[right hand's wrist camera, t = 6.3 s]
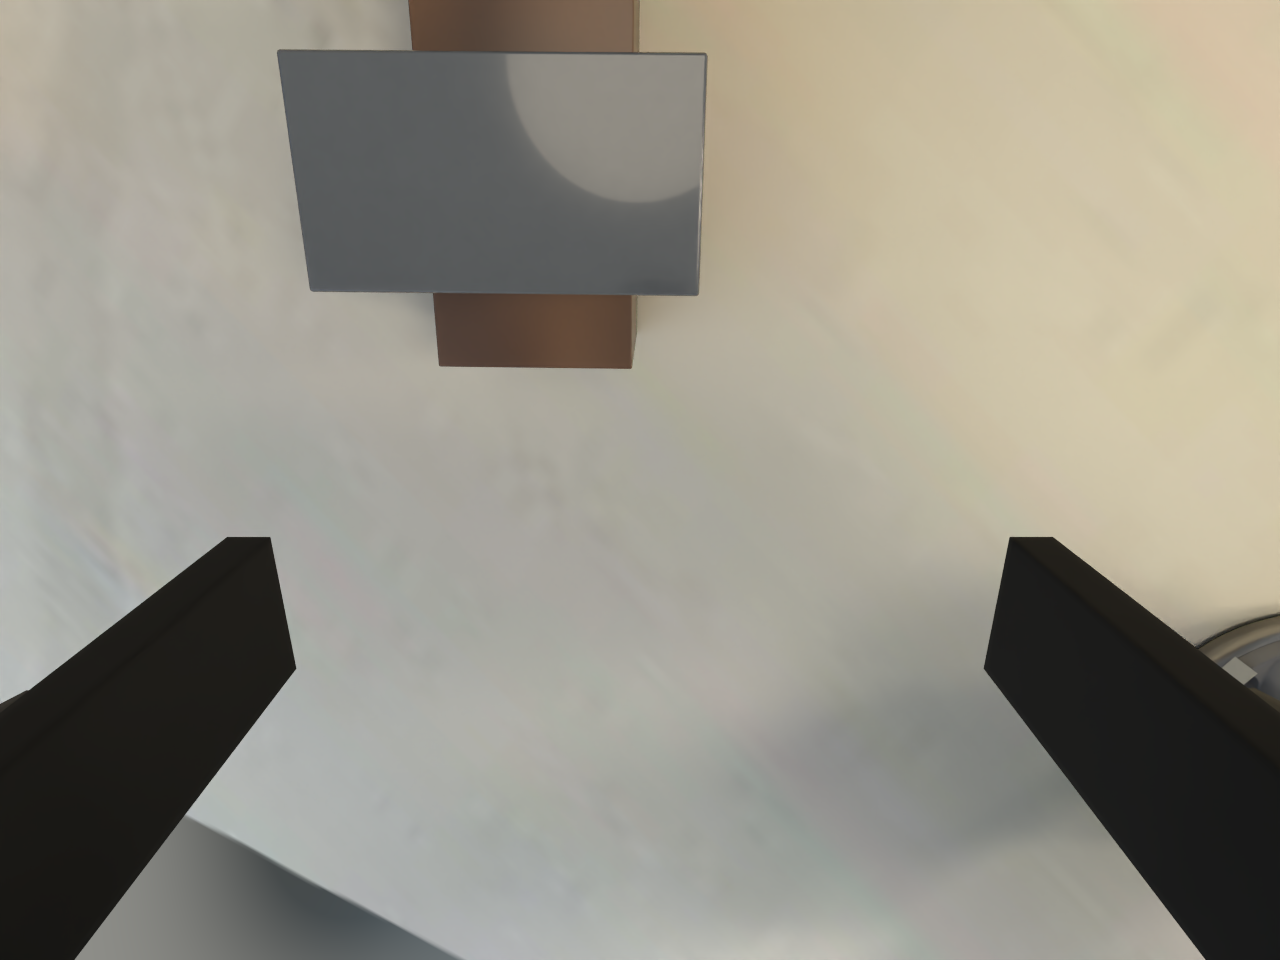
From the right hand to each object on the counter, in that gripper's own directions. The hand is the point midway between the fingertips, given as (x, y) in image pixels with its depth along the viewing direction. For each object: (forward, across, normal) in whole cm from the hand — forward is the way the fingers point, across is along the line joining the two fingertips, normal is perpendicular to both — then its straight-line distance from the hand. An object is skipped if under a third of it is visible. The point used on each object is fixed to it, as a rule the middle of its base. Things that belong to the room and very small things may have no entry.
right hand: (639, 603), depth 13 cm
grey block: (+14, +4, -8) cm, 17 cm away
